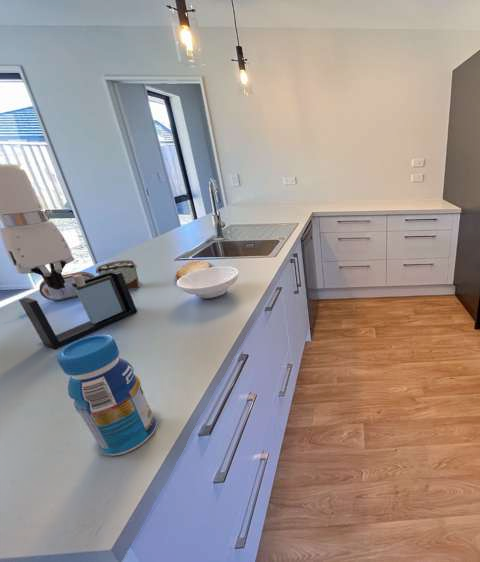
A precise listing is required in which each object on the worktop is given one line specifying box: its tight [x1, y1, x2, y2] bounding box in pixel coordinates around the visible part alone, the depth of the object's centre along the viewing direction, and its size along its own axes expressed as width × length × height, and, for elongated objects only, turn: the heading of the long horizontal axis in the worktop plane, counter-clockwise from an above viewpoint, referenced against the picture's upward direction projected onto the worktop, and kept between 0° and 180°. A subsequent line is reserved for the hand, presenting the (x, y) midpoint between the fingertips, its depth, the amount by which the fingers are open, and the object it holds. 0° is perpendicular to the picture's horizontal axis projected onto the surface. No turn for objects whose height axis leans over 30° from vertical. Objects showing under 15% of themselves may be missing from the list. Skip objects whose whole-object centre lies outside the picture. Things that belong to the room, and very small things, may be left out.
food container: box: [95, 259, 141, 291], centre depth 113 cm, size 12×6×10 cm, turn 111°
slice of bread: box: [175, 260, 212, 281], centre depth 126 cm, size 18×18×4 cm
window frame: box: [18, 270, 138, 350], centre depth 86 cm, size 21×5×14 cm, turn 158°
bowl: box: [176, 266, 239, 299], centre depth 107 cm, size 20×20×7 cm
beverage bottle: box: [56, 334, 158, 456], centre depth 50 cm, size 8×8×20 cm
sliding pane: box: [73, 275, 126, 324], centre depth 88 cm, size 9×2×15 cm, turn 158°
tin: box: [39, 271, 96, 301], centre depth 107 cm, size 15×3×8 cm, turn 130°
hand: (58, 287), depth 80 cm, fingers closed
